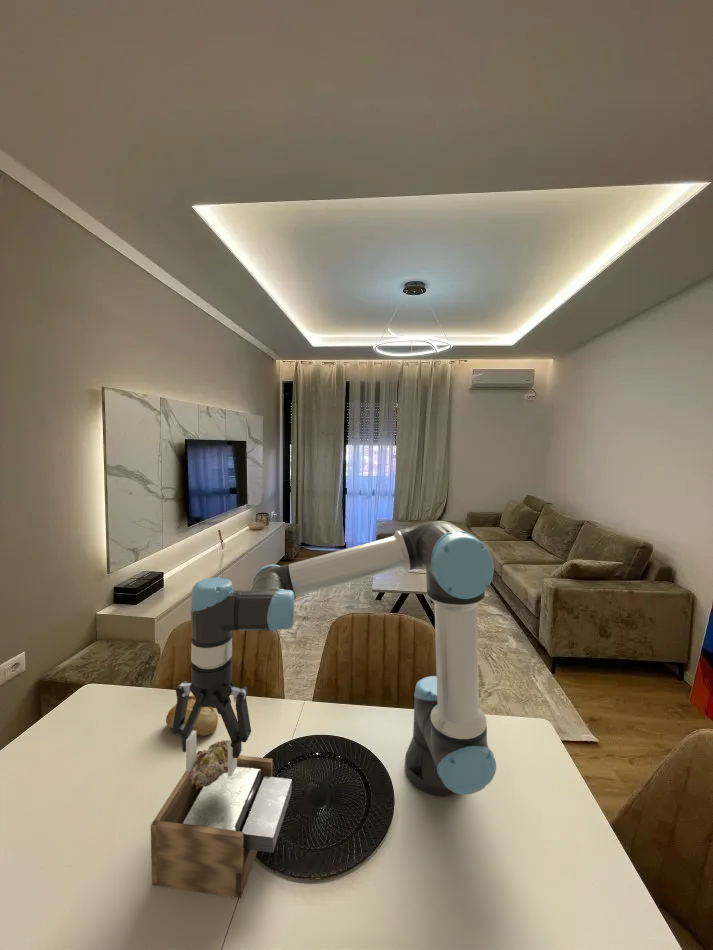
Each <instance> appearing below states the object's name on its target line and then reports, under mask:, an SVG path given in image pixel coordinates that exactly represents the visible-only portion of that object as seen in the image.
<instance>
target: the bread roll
mask: <svg viewBox="0 0 713 950" xmlns="http://www.w3.org/2000/svg"><path fill="white" fill-rule="evenodd" d="M195 701H196V698H195V697H194V695H189V698H188V704H187V710H186V716H185V722H184V724H185V725H186V722H187V720H188V718H189V716H190V714H191V711H192V708H193V706H194V703H195ZM175 710H176V704H175V705H174V706H172V707H171V709H169V711H168V712H167V715H166V718H165V722H166V725H167V726H168V727H169V728H171V729H173V723H174V717H175ZM218 715H219V714H218V712H217V709H216V708H212V707H202V709H201V711H200V713H199V716H198V718H197V720H196V722H195V724H194V728H193V729H192V730H191V732H192V731H193V730H194V731H196V736H202V737H204V736H205V737H206V736H208V735H211V734H213V733H214V732H215V731H216V730H217V728H218V724H219V723H218V722H219V719H218V718H219V717H218Z"/></svg>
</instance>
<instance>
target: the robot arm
mask: <svg viewBox="0 0 713 950" xmlns="http://www.w3.org/2000/svg"><path fill="white" fill-rule="evenodd" d="M494 567H495V565H494V560H493V556H492V554H491V552H490V550H489V548H488V547H487V546H486V545H485V544H484V543H483V542H482V541H481V540H480V539H479V538H478V537H477V536H475V535H474V534H472V533H470V532H468V531H464V530H463V529H462V528H460V527H458V526H457V525H455V524H454V523H451V522H448V521H445V520H444V521H443V520H434V521H432V520H431V521H428V522H423V523H419V524H416V525H413V526H411V525H410V526H408V527H404V528H400V529H396V531H395V532H394V533H393V535H392V536H389V537H385V538H381V539H377V540H373V541H369V542H367V543H363V544H358V545H355V546H352V547H351V546H350V547H348V548H347V547H346V548H343V549H340V550H337V551H333V552H329V553H327V554H322V555H321V554H320V555H318V556H315V557H311V558H307V559H303V560H300V561H296V562H293V563H292V562H291V563H289V564H284V565H278V564H273V563H272V564H266V565H264V566H262V567H261V568H260V569H259V571H257V573H256V575H255V577H254V578H253V582H252V588H251V590H241V589H240V590H239V589H235V588H234V587H233V586H234V585H233V582H232V580H231V579H228V578H222V577H210V578H204V579H201V580H200V581H198V582H196V583H195V584H194V585H193V587H192V588H191V601H190V602H191V603H190V604H191V606H190V607H189V610H190V620H191V621H190V623H191V625H190V626H191V627H190V628H191V636H190V637H191V638H190V639H191V645H190V646H191V647H190V649H191V650H190V651H191V652H190V653H191V654H190V662H191V667H190V668H191V669H190V671H191V673H190V674H191V675H190V677H191V678H190V679H191V682H188V681H186V680H183V681H182V682H181V683H180V684H179V685H178V686H177V687H176V689H175V695H176V699H177V700H176V703H175V705H176V710H175V717H174V723H173V728H171V729H172V730H171V732H172V734H173V735H174V736H177V735H179V736H180V737H181V750H182V752H183V753H185V771H190V770H191V769H192V767H193V765H194V764H195V763H194V762H195V760H196V754H197V735H196V731H194V730H193V731H192V732H191V730H192V729H193V728H194V724H195V722H196V720H197V718H198V716H199V713H200V711H201V709H202V707H212V708H215V710H216V713H217V715H220V717H221V719H222V721H223V724H224V726H225V728H226V730H227V734H228V735H229V739H230V742H229V744H228V776H232V775H233V773H234V771H235V769H236V767H237V758H238V757H239V755H241V752H242V746H243V745H242V743H246V742H247V741H248V739H249V737H250V735H251V733H252V728H251V720H250V715H249V709H248V702H247V696H248V687H247V686H242V687H241V688H240V687H236V686H235V685H234V682H233V680H232V678H233V658H232V657H233V632H239V631H240V632H243V631H244V632H247V631H252V632H253V631H255V632H257V631H261V632H262V631H271V632H276V631H280V630H283V631H284V630H290V629H291V628H293V626H294V623H295V599H296V598H297V597H300V596H304V595H307V594H311V593H314V592H315V593H316V592H318V591H323V590H325V589H330V588H333V587H337V586H340V585H344V584H347V583H350V582H351V583H352V582H355V581H359V580H363V579H366V578H370V577H373V576H377V575H381V574H384V573H387V572H392V571H395V570H399V569H404V570H406V571H407V572H408V571H412V570H417V569H425V574H426V596H427V597H428V599H429V600H430V601H432V602H433V603H434V628H435V630H434V631H435V632H434V634H435V661H436V662H435V663H436V665H435V666H436V669H435V670H436V675H430V676H426V677H423V678H421V679H419V680H418V681H417V682H416V685H415V688H414V689H415V690H414V693H413V696H414V704H413V705H414V707H413V708H414V709H413V729H412V733H413V734H412V738H411V740H410V743H409V744H408V745H409V746H408V747H407V750H406V753H405V758H404V771H405V773H406V776H407V778H408V779H409V781H410V782H411V783H412V784H413V785H414V786H415V787H416V788H417V789H418V790H420V791H422V792H424V793H426V794H430V795H433V796H441V797H443V796H445V797H446V796H451V795H453V794H456V795H463V796H464V795H471V794H476V793H478V792H480V791H482V790H483V789H485V787H486V786H487V785H490V783H491V782H492V780H493V779H494V778H495V776H496V773H497V762H496V759H495V754H494V752H493V751H492V750H491V749H490V747H489V745H488V728H487V727H488V726H487V725H488V724H487V723H488V721H487V717H486V716H485V713H484V712H483V710H481V709H480V705H479V703H480V700H479V650H478V649H479V645H478V644H479V643H478V642H479V640H478V639H479V637H478V633H479V632H478V605H479V604H481V602H483V601H485V595H486V593H485V592H486V590H487V587H488V586H490V585H491V582H492V581H493V576H494V574H495V573H494V571H495V568H494ZM190 693H192V696H194V697H195V698H196V701H195V703H194V706H193V708H192V711H191V714H190V716H189V718H188V720H187V722H186V725H185V724H184V722H185V716H186V710H187V704H188V698H189V696H190ZM231 695H232V697H233V702H234V703H235V711H236V714H235V711H234V708H233V707H232V701H231V700H232V699H231V697H230V696H231Z"/></svg>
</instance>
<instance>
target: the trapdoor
mask: <svg viewBox="0 0 713 950" xmlns="http://www.w3.org/2000/svg"><path fill="white" fill-rule="evenodd" d="M262 774H263V773H262V771H261V769H253V768H244V767H236V769H235V771H234V773H233V775H232V776H228V773H224V774H222V775H221V776H219V778H218V779H217V780H216V781H215V782H213V783H212V784H211V785H208V786H206V787H203V789H202V790H201V792H200V794H199V796H198V797H197V799H196V801H195V803H194V804H193V806H192V808H191V810H190V812H189V813H188V815H187V817H186V819H185V820H184V822H183V824H187V825H194V826H202V827H210V828H217V829H225V830H232V831H240V830H241V827H242V826H243V828H242V831H241V832H243V850H245V849H249V850H256V851H257V852H266V853H274V851H275V848H276V843H277V841H278V838H279V835H280V832H281V828H282V825H283V821H284V819H285V816H286V811H287V809H288V807H289V802H290V798H291V796H292V789H293V784H292V783H293V780H292V779H291V778H284V777H278V776H277V777H275V776H272V777H268V776H264V778H263V781H262V783H261V786H260V788H259V791H258V793H257V796H256V798H255V801H254V803H253V806H252V808H251V811H249V810H248V809H249V806H250V804H251V801H252V799H253V796H254V794H255V792H256V789H257V787H258V784H259V782H260V779H261V777H262ZM248 811H249V813H248ZM247 813H248V816H247V819H246V821H245V823H244V820H245V818H246V815H247ZM243 823H244V825H243Z"/></svg>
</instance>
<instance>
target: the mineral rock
mask: <svg viewBox="0 0 713 950" xmlns="http://www.w3.org/2000/svg"><path fill="white" fill-rule="evenodd" d="M230 740H231V739H230ZM230 740H229V739H226V740H224V739H223V740H221V741H220V740H219V741H216V742H214V743H212V744H211V745H210V746H209V747H208V748H207V749H203V750H201V751H202V753H201V754H198V755H197V758H196V760H195V762H194V763H195V764H194V765H193V767H192V769H193V770H192V772H191V774H190V777H191V779H192V784H193V785H196V788H197V789H198V788H200V787H202V786H204V787H206V786H208V785H211V784H212V783H213V782H215V781H216V780H217V779H218V778H219V776H221V775H222V774H224V773H228V744H229V742H230Z"/></svg>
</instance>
